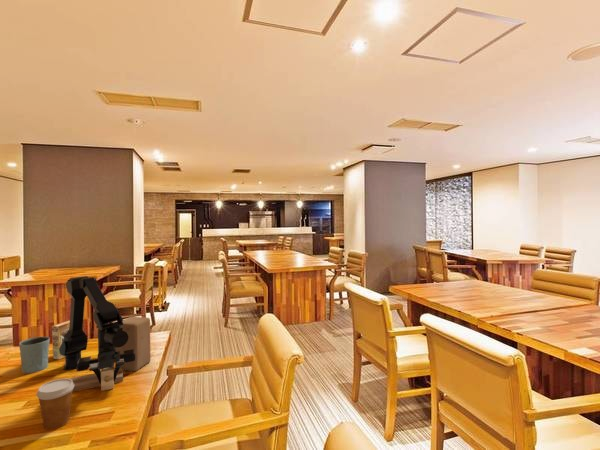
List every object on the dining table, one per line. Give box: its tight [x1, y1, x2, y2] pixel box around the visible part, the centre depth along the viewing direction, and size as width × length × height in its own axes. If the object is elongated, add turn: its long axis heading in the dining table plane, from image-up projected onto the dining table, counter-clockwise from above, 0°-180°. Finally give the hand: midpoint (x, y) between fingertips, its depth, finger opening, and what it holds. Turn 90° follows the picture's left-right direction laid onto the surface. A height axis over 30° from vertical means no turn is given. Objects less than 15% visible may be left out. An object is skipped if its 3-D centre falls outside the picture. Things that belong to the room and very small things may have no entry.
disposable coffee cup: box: [35, 377, 75, 430], centre depth 103 cm, size 10×10×12 cm
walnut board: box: [67, 368, 124, 393], centre depth 127 cm, size 8×23×2 cm, turn 118°
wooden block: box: [116, 316, 152, 372], centre depth 142 cm, size 10×10×20 cm
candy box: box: [51, 319, 70, 360], centre depth 153 cm, size 9×4×15 cm, turn 164°
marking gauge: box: [100, 365, 115, 392], centre depth 127 cm, size 13×4×7 cm, turn 28°
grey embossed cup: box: [18, 336, 51, 374], centre depth 140 cm, size 10×10×12 cm
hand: (107, 382), depth 124 cm, fingers closed on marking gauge, 4 cm apart
